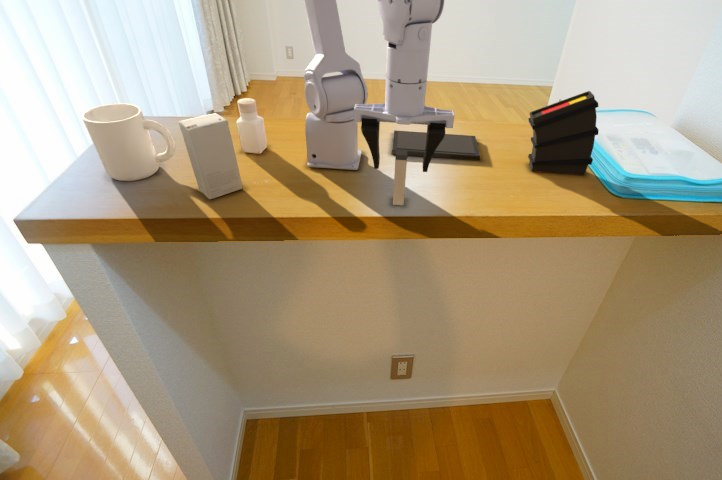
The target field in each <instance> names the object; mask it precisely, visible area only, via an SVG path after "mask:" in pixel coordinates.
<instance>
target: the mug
mask: <svg viewBox="0 0 722 480" xmlns="http://www.w3.org/2000/svg"><path fill="white" fill-rule="evenodd" d="M81 118H82V121H83V123H84V125H85V128H86V130H87V132H88V134H89V137H90V139H91V141H92V143H93V145H94V148H95V150H96V152H97V155H98V157H99V159H100V161H101V164H102V166H103V168H104V170H105V172H106V174H107V175H108V176H109V177H110V178H111V179H113V180H116V181H120V182H135V181H140V180H144V179H148V178H149V177H151V176H153V175H155V174H156V173H158V171H159V169H160V163H163V162H166V161H167V162H168V161H169V160H170V159H172V157H173V156H174V155H175V152H176V141H175V139H174V136H173V135H172V133H171V131H170V130H169V129H168V128H167V127H166V126H165V125H163V124H161V123H160V122H157V121H155V120H152V119H145V117H144V114H143V111H142V108H140V107H139V106H138V105H136V104H131V103H110V104H104V105H103V104H102V105H99V106H98V105H97V106H95V107H92V108H89V109H87V110H85V111H84V112H83V113H82V114H81ZM149 130H151V131H155V132H157V133H159V134H160V135H161V137H162V138H163V139H164V140H165V141H164V142H165V143H166V149H165V151H164V152H161V153H157V152H156V149H155V146H154V143H153V140H152V138H151V137H152V136H151V135H150V132H149Z"/></svg>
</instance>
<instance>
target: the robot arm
mask: <svg viewBox="0 0 722 480" xmlns="http://www.w3.org/2000/svg"><path fill="white" fill-rule="evenodd" d="M303 5H304V10H305V14H306V20H307V24H308V29H309V33H310V38H311V43H312V48H313V52H314V58H312V60H311V61H310V63H309V64H308V65H307V67H306V68H305V69H304V71H303V80H304V97H305V101H306V105H307V108H308V109H309V110H310V112H307V114H306V117H305V124H304V125H305V128H304V131H305V132H304V133H305V134H304V135H305V143H306V145H305V146H306V155H307V164H306V165H307V167H308V168H318V169H332V170H333V169H334V170H348V171H357V170H359V166H360V163H361V162H360V161H361V157H362V154H363V151H362V149H359V130H358V129H359V123H361V124H360V125H361V126H360V131H361V134H362V136H363V137H364V139H365V141H366V144H367V146H368V149H369V151H370V154H371V158H372V162H373V169H375V170H379V169H380V161H381V160H380V158H381V156H380V154H381V153H380V127H381V126H380V125H381V123H395V124H397V125H405V126H409V125H423V126H424V125H425V126H426V133H427V137H426V147H425V152H424V157H423V160H422V172H423V173H428V171H429V170H428V169H429V167H430V163H431V160H432V158H433V157H432V156H433V154H434V152H435V150H436V149H437V147H438V145H439V144H440V143H441V141H442V140H443V138H444V136H445V134H446V129H454V121H455V116H456V115H455V111H454V110H452V109H443V108H437V107H433V106H428V105H425V104H426V96H427V95H426V94H427V83H428V74H429V63H430V52H431V51H430V50H431V41H432V31H433V30H432V29H433V24H435V23H436V22H438V20H439V19H440V17H441V16H442V14H443V11H444V6H445V0H377V5H378V6H377V7H378V10H379V14H380V17H381V20H382V27H383V28H382V35H383V36H384V40H385V41H386V57H385V58H386V59H385V61H386V63H385V64H386V65H385V90H384V92H385V93H384V102H383V103H382V102H381V103H367V102H368V97H369V91H368V86H367V83H366V81H365V78H364V76H363V74H362V69H361V64H360V63H359V62H358V61H357V60H356V59H355V58H353V57H352V56H350V54H348V53H347V52H346V48H345V42H344V36H343V31H342V26H341V20H340V15H339V9H338V4H337V0H303ZM333 73H341V74H336V75H330V76H325V75H326V74H333Z"/></svg>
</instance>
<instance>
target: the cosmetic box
mask: <svg viewBox="0 0 722 480" xmlns="http://www.w3.org/2000/svg"><path fill="white" fill-rule="evenodd" d="M177 123H178V126H179V129H180V133H181V137H182V138H183V142H184V145H185V148H186V151H187V156H188V158H189V162H190V164H191V168H192V171H193V174H194V177H195V180H196V184H197V187H198V189H199V191H200V192H201V193H202V194H203V195H204V196H205V197H206V198H207V199H208V200H213V199H216V198H219V197H222V196H225V195H228V194H230V193H234V192H236V191H239V190H243V188H244V187H243V183H242V177H241V174H240V169H239V165H238V160H237V156H236V155H237V154H236V152H235V146H234V143H233V138H232V134H231V130H230V126H229V121H228V120H227V119H226V118H225V117H223V116H222V115H220V114H218V113H217V112H214V113H209V114H205V115H204V114H203V115H199V116H197V117H196V116H195V117H191V118H187V119H182V120H178V122H177Z"/></svg>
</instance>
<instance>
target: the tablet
mask: <svg viewBox="0 0 722 480" xmlns="http://www.w3.org/2000/svg"><path fill="white" fill-rule="evenodd" d="M392 135H393V136H392V143H391V144H392V146H391V155H393V156H396V150H403V151H407V157H408V156H409V157H421V158H422V157H423V158H424V152H425V147H426V137H427V132H423V131H410V130H409V131H407V130H396V129H395V130H393V134H392ZM432 158H439V159H454V160H467V161H468V160H469V161H481V153H480V149H479V145H478V141H477V138H476V135H468V134H467V135H465V134H453V133H445V136H444V138H443V140H442V141H441V143H440V144H439V145H438V147H437V149H436V150H435V152H434V154H433V156H432Z"/></svg>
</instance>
